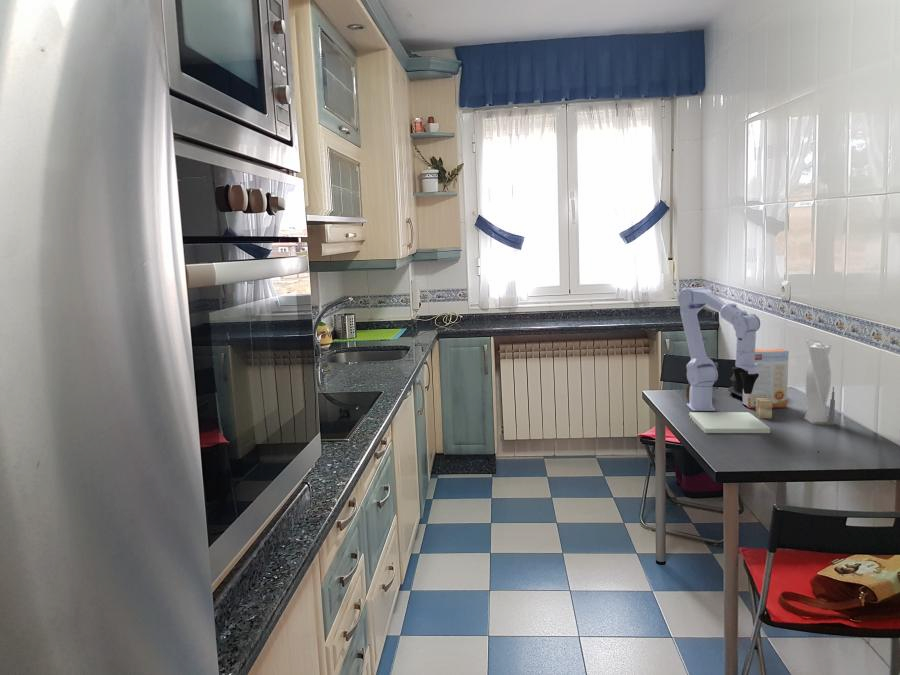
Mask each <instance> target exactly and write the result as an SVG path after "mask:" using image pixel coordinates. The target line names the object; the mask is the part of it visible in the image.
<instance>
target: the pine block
mask: <svg viewBox="0 0 900 675" xmlns="http://www.w3.org/2000/svg"><path fill="white" fill-rule="evenodd" d="M772 402H773V401H772V400H770V399H769V398H756V408H755V416H756V415H757V416H758V417H757V416H756V417H757V418H758V419H772V418H773V408H772Z"/></svg>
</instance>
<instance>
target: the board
mask: <svg viewBox="0 0 900 675" xmlns="http://www.w3.org/2000/svg"><path fill="white" fill-rule="evenodd" d="M688 416H690V417H689V418H690V419H691V418H692V419H691V420H692V421H693V422H694V423H695V424H696V426H698V428H699V429H701V431H703V433H704V434H771V428H770V427H769V426H767V425H766V424H765V423H764V422H762V421H761V420H760V419H759V418H758V417H757V416H754V415H753V414H752V413H750V412H748V411H747V412H746V411H745V412H744V411H743V412H742V411H741V412H740V411H738V412H737V411H731V412H730V411H728V412H727V411H726V412H725V411H724V412H723V411H722V412H721V411H720V412H719V411H718V412H717V411H692V412H689V413H688Z"/></svg>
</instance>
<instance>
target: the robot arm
mask: <svg viewBox="0 0 900 675" xmlns="http://www.w3.org/2000/svg"><path fill="white" fill-rule="evenodd" d="M677 301H678V305H679V311H680V312H679V313H680V318H681V321H682V326H683V331H684V335H685V340H686V344H687V347H688V352H689V356H690V361H688V363H687V364H686V365H685V366H686V379H687V381H688V383H690V384H691V386H690V390H689V401H688V403H686V406H687V407H688V408H689V409H691V411H692V412H716V408H714V407H713V385H714V384H715V382H716V381H717V380H718V379H719V378H718V377H719V373H718V369H717V367H716V366H715V363H714V361H713V360H712V358H709V356H707V351H706V349H705V344H704V339H703V335H702V331H701V327H700V323H699V322H700V321H699V319H698V318H699V317H698V313H699V312H700V311H701V310H702V309H703V308H704V307H705V306H706V305H707V306H708V307H710V308H712V309H714V310H716V311H717V312H719V314H720V315H719V316H720V318H722V319H723V320H725V322H728V323H729V324H730V325H732V327H733V329H734V331H735V337H736V357H735V362H734V363H735V366H734V367H733V366H732V367H731V371H732V373H733V374H734V376H735V380H736V385H737V388H738V389H743V390H744V394H751V393H752V390H753V386H754V383H755V381H756V379H757V378H758V376H759V374H758V373H755V367H756V366H758V364H756V363H755V349H756V338H757V334H756V333H757V331H759V329H760V327H761V320H760V318H759V317H758V316H757V315H756V314H755V313H751V314H750V313H747V311H746V310H742V309H741V308H739V307H738V305H737V304H736V303H725V302H724V300H722V299H720V298H719V297H718V296H717V295H715V293H713V291H712V289H710V288H709V287H707V286H698V287H683V288H681V289H680V291H679V293H678V295H677Z"/></svg>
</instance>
